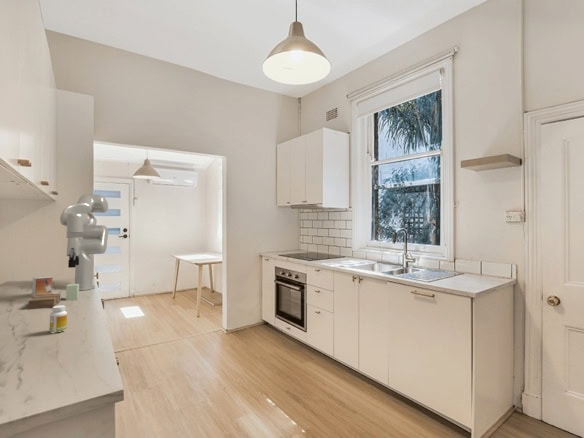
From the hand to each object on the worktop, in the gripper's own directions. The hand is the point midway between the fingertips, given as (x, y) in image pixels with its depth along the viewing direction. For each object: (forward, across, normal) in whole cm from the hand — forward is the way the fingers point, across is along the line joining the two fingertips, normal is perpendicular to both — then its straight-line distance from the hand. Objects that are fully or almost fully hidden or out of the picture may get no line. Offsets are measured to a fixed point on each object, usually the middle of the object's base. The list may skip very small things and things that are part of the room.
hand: (73, 266), depth 175 cm
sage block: (+18, 0, 0) cm, 18 cm away
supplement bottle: (+18, +59, +5) cm, 62 cm away
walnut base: (+18, +10, -10) cm, 23 cm away
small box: (+18, -15, -17) cm, 29 cm away
